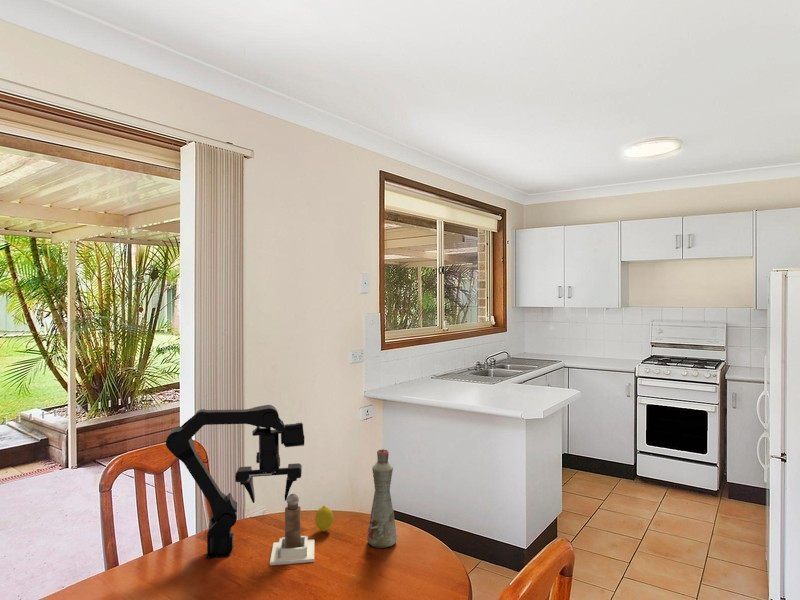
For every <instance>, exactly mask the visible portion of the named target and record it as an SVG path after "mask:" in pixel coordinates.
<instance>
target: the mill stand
mask: <svg viewBox="0 0 800 600" xmlns="http://www.w3.org/2000/svg"><path fill="white" fill-rule="evenodd" d="M272 543H273V544H272V549H271V554H270V559H269V566H277V565H278V566H280V565H292V564H304V563H305V564H306V563H314V562H315V539H308V535H301V547H298V548H285V536H284V537H279V541H278V542H272Z"/></svg>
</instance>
